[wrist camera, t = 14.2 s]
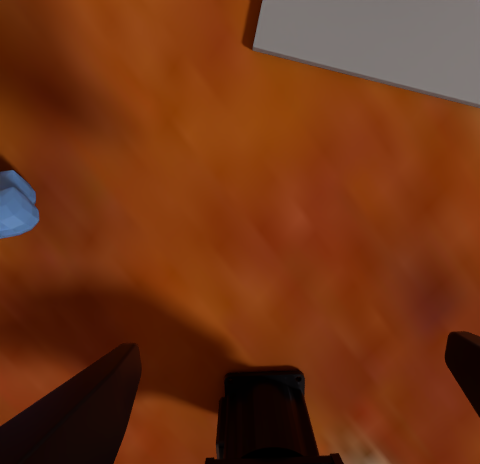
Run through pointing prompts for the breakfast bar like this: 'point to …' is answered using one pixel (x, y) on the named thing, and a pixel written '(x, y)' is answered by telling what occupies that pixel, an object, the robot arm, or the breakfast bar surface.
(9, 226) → the grapes
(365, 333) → the breakfast bar surface
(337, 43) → the pad
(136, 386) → the robot arm
